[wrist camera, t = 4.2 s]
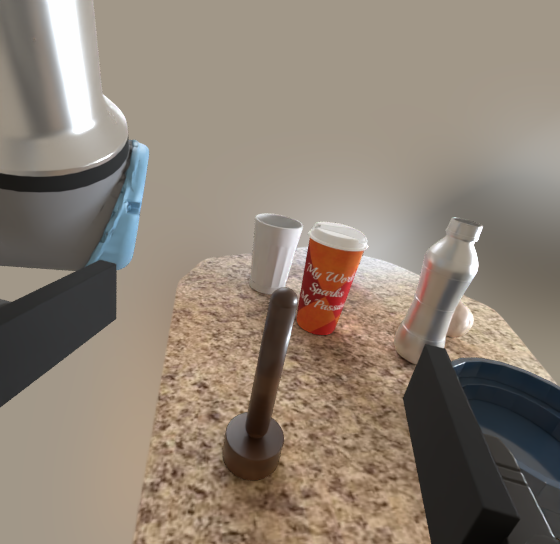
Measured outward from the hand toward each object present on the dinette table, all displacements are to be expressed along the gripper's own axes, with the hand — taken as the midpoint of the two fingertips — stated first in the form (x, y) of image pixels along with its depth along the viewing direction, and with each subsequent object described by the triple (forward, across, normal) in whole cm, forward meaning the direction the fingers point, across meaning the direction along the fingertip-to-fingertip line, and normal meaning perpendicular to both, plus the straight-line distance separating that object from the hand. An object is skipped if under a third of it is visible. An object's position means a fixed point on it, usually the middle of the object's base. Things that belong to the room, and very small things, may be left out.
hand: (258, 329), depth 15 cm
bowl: (+19, +26, -19) cm, 37 cm away
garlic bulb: (+43, +24, -19) cm, 53 cm away
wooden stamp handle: (+10, 0, -19) cm, 21 cm away
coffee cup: (+35, +3, -19) cm, 40 cm away
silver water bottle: (+33, +18, -19) cm, 42 cm away
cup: (+44, -6, -19) cm, 48 cm away
